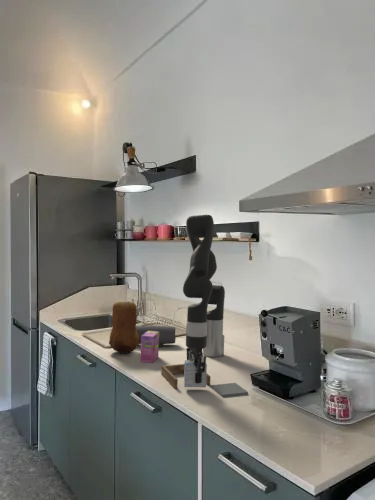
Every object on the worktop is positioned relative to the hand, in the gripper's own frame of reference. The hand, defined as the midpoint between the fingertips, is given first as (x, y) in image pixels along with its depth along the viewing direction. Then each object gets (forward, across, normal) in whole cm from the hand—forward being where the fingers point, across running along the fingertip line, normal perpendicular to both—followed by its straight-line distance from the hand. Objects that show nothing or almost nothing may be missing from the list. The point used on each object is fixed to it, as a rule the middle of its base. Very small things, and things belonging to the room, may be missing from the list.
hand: (195, 380), depth 150 cm
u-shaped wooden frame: (+4, +11, 0) cm, 11 cm away
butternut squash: (+4, +56, +15) cm, 58 cm away
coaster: (+4, -4, -12) cm, 13 cm away
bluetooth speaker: (+4, +66, -2) cm, 66 cm away
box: (+4, +42, +6) cm, 42 cm away
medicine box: (+2, 0, 0) cm, 2 cm away
